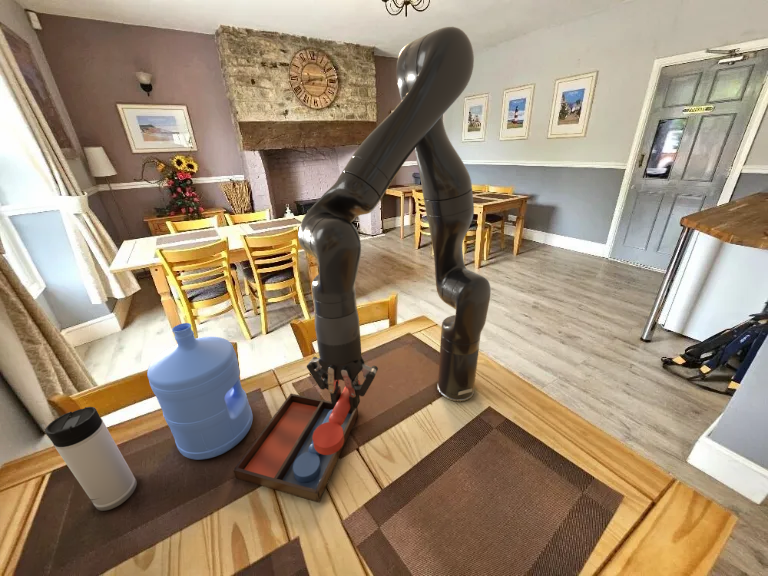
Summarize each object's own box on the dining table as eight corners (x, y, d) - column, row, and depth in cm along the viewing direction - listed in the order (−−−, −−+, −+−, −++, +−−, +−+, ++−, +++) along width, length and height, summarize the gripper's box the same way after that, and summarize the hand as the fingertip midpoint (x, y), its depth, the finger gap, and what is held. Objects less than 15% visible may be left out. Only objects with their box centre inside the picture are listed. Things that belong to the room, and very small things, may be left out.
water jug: (187, 477, 62) (136, 363, 50) (172, 429, 72) (127, 326, 61) (264, 432, 71) (236, 328, 59) (240, 395, 82) (213, 301, 70)
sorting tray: (292, 401, 79) (290, 393, 78) (358, 414, 75) (357, 406, 74) (236, 478, 61) (233, 469, 60) (318, 502, 56) (317, 493, 55)
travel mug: (90, 520, 55) (34, 440, 46) (101, 487, 60) (52, 410, 52) (133, 502, 57) (87, 424, 49) (139, 472, 63) (99, 397, 54)
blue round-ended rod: (326, 413, 74) (325, 404, 73) (346, 417, 73) (345, 408, 72) (289, 479, 60) (286, 469, 59) (313, 485, 59) (311, 476, 57)
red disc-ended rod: (344, 383, 67) (343, 373, 65) (367, 387, 65) (367, 377, 64) (308, 451, 52) (306, 439, 51) (337, 458, 51) (335, 446, 50)
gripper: (382, 324, 55) (385, 398, 62) (311, 316, 59) (321, 386, 66) (370, 349, 49) (374, 428, 56) (290, 338, 52) (304, 414, 59)
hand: (345, 405), depth 61 cm, fingers closed on red disc-ended rod, 2 cm apart
